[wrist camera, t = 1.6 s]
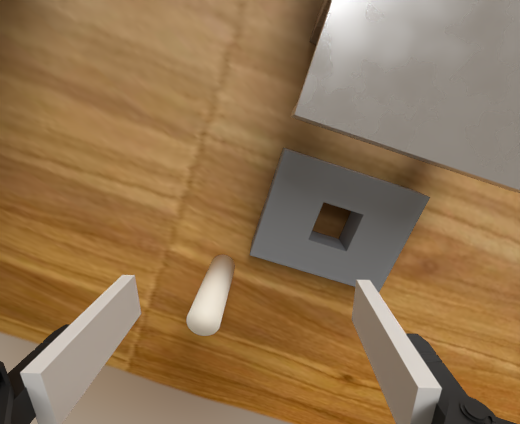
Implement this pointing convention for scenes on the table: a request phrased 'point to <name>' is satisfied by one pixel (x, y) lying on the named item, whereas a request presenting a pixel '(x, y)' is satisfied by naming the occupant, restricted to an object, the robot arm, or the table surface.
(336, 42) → the grey legged flat piece
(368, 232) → the socket block
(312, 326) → the table surface
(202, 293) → the peg
